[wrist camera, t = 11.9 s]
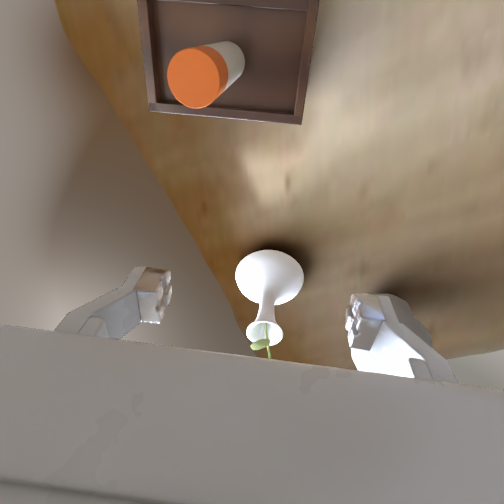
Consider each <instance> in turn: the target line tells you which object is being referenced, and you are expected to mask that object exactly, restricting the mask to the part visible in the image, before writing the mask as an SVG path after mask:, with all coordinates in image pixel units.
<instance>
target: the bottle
mask: <svg viewBox="0 0 504 504" xmlns="http://www.w3.org/2000/svg"><path fill="white" fill-rule="evenodd" d="M367 294H369V295H380V296H388V297H389V298H390V300H391V303H392V305H393V308H394V310H395V313H396V316H397V318H398V321H399V323H402V324H404V325H405V326H406V327H407V328H409V329H410V330H411V331H412V332H413V333H415V334H416V335H417V336H418V337H419V338H421V339H422V340H423V341H424V342H425V343H427V344H428V345H429V346H430V347H431V348H433V346H432V340H431V333H430V332H429V331H428V330H427V329H426V328H425V327H424V326H423V325H422V324H421V323H420V322H419V321H418V320H417V319H416V318H415V316H414V314H413V313H412V311H411V309H410V307H409V305H408V303H407V302H406V301H404V300H402V299H400V298H399V297H397V296H395V295H391V294H386V293H384V294H374V293H367ZM351 352H352V358H353V361H354V363H355V365H356V367H357V369H358V371H365V372H373V373H381V374H387V373H386V371H385V370H384V369H383V368H382V366H381V365H380V364H379V363H378V361H377V360H376V359H375V358H374V357H373V355H372V354H371V353H370V351H367V350H361V349H354V348H351Z"/></svg>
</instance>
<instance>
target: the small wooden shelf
mask: <svg viewBox="0 0 504 504" xmlns="http://www.w3.org/2000/svg"><path fill="white" fill-rule="evenodd" d="M137 7H138V16H139V25H140V34H141V43H142V52H143V61H144V70H145V79H146V88H147V97H148V106H149V111H153V112H165V113H176V114H187V115H198V116H209V117H220V118H231V119H242V120H253V121H264V122H276V123H287V124H298V125H301V124H302V118H303V111H304V104H305V97H306V90H307V83H308V76H309V69H310V62H311V55H312V48H313V41H314V35H315V28H316V21H317V14H318V7H319V0H137ZM224 41H229V42H233V43H235V44H236V45H238V46H239V48H240V49H241V50H242V52H243V54H244V58H245V67H244V70H243V73H242V74H241V76H240V77H239V78H238V79H237V80H236V81H234V82H233V83H232V84H231V85H230V86H229V87H228V88H227V89H226V90H225V91H224V92H223V93H222V94H221V95H219V96H218V97H217V98H216V99H215V100H214V101H213V102H212V103H211V104H209V105H208V106H206V107H204V108H198V109H196V108H190V107H187V106H185V105H183V104H182V103H180V102H179V101H178V100H177V99H176V98H175V96H174V95H173V93H172V92H171V90H170V87H169V84H168V78H167V71H168V66H169V63H170V61H171V59H172V58H173V56H174V55H175V54H176V53H177V52H179V51H181V50H183V49H186V48H192V47H197V46H202V45H208V44H213V43H219V42H224Z"/></svg>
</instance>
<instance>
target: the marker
mask: <svg viewBox="0 0 504 504" xmlns="http://www.w3.org/2000/svg"><path fill="white" fill-rule="evenodd" d="M244 67H245V58H244V54H243V52H242V50H241V49H240V48H239V46H238V45H236V44H235V43H233V42H229V41H224V42H219V43H213V44H208V45H202V46H197V47H192V48H186V49H183V50H181V51H179V52H177V53H176V54H175V55H174V56H173V58H172V59H171V61H170V63H169V66H168V71H167V78H168V84H169V87H170V90H171V92H172V93H173V95H174V96H175V98H176V99H177V100H178V101H179V102H180V103H182V104H183V105H185V106H187V107H190V108H196V109H198V108H204V107H206V106H208V105H209V104H211V103H212V102H213V101H214V100H215V99H216V98H217V97H218V96H219V95H221V94H222V93H223V92H224V91H225V90H226V89H227V88H228V87H229V86H230V85H231V84H232V83H233V82H234V81H236V80H237V79H238V78H239V77H240V76H241V74H242V73H243V70H244Z"/></svg>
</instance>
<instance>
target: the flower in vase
mask: <svg viewBox="0 0 504 504" xmlns="http://www.w3.org/2000/svg"><path fill="white" fill-rule="evenodd" d="M236 281H237V284H238V287H239V289H240V290H241V292H242V293H243V294H244V295H245V296H246V297H247V298H249V299H251V300H252V301H254V302H257V303H259V304H260V307H259V312H258V316H257V318H256V320H255V322H253V323H252V324H250V325H249V327H248V328H247V332H246V333H247V337H248V338H249V339H250V340H251V341H252V342H253V344H251V348H252V349H253V350H259V349H262V348H264V347H266V346H267V350H268V356H269V359H271V353H270V347H269V346H271V345H275V344H277V343H278V342H280V341H281V339H282V337H283V332H282V329H281V328H280V327H279V326H278V325H277V323H276V321H275V315H274V305H278V304H282V303H285V302H287V301H289V300H291V299H292V298H294V297H295V296H296V295H297V294H298V292H299V291H300V289H301V287H302V285H303V281H304V275H303V271H302V268H301V266H300V265H299V263H298V262H297V261H296V260H295V259H294V258H292V257H291V256H289V255H287V254H285V253H283V252H280V251H276V250H261V251H257V252H254V253H251V254H249V255H248V256H246V257H245V258H244V259H243V260H242V261H241V262H240V263H239V265H238V267H237V269H236Z"/></svg>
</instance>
